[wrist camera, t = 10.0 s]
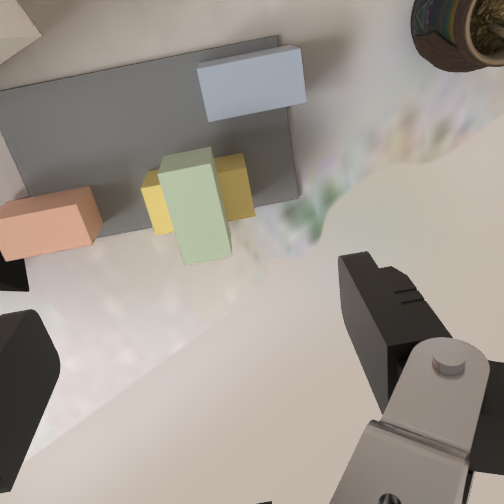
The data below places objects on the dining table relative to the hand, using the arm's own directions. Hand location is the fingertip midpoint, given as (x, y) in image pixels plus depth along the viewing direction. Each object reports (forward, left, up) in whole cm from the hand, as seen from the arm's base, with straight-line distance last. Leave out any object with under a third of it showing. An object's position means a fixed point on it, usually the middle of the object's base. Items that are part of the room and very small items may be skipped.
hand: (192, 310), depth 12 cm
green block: (-2, -5, -22) cm, 23 cm away
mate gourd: (+19, +3, -27) cm, 33 cm away
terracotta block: (-14, -6, -26) cm, 30 cm away
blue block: (+4, +2, -26) cm, 26 cm away
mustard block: (-2, -6, -26) cm, 27 cm away
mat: (-5, -2, -26) cm, 27 cm away
